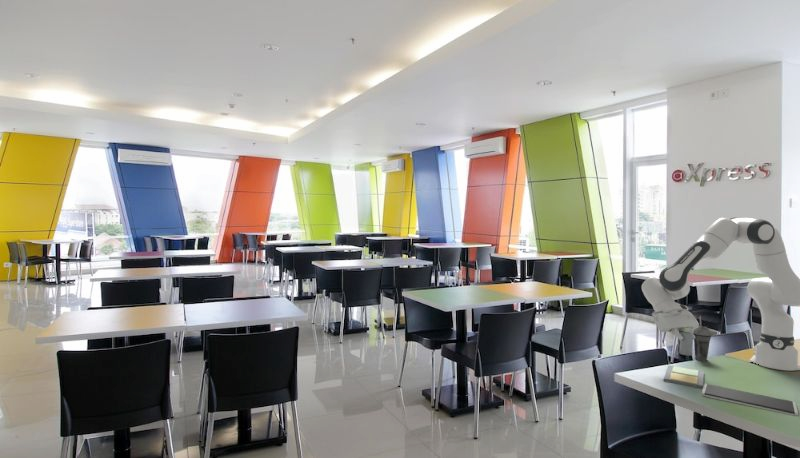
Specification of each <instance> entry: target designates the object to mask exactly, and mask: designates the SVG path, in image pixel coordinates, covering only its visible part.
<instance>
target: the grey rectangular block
mask: <svg viewBox="0 0 800 458" xmlns="http://www.w3.org/2000/svg"><path fill="white" fill-rule="evenodd" d="M690 331H691V329H690V328H683V331H679V333H680V334H681V335H682V334H683V336H684V337H685V339H684V340H679V352H678V353H679V354H680V355H684V356H689V357H690V356H693V346H694V345H693V344H694V339H693V333H692V332H690Z"/></svg>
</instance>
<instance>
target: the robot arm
mask: <svg viewBox="0 0 800 458" xmlns="http://www.w3.org/2000/svg"><path fill="white" fill-rule="evenodd" d="M733 242H737V243H741V244H752V249H753V252H754V258H755V263H756V267H757V269H758V270H759V272H761V273H762V274H764V275H765V276H766V277H755V278H752V279H751V280H749V282H748V284H747V288H746V289H747V291H746V292H747V295H749V296H750V297H751V299H753V300H754V302H755V303H756V305H757V306H758V310H759V312H760V316H761V332H760V334H759V342H757V343H756V344H755V345H754V346H753V352H754V353H753V355H752V357H750V359H749V361H750V362H749V361H748V362H749V363H751V362H753V363H752V364H755V363H756V365H758V364H759V365H758V366H760V367H764V368H769V369H773V370H779V371H791V372H792V371H800V365H799V350H798V349H796V347H795V346H794V345H795V337H794V325H795V324H794V323H795V322H794V318H793V317H792V316H791V315H789V314H788V312H786V311H785V309H784V307H783V305H784V306H789V307H800V278H799V277H798V275H797V274H796V273H795V272H794V270H793V269H792V267H791V265H790V261H789V258H788V254H787V252H786V247H785V243H784V240H783V238H782V236H781V234H780V232H779V230H778V229H777V228H776V227H774V225H773V224H772V223H771V222H770V221H768V220H765V219H762V218H759V219H757V218H754V217H753V218H752V217H730V218H728V217H720V218H718V219H717V220H714V222H712V223H711V224H710V225H709V226H708V227H707V228H706V229H705V231H704V232H702V233H701V234H700V236H699V237H698V238H697V240H695V242H694V243H693V244H692V245H690V247H689V248H688V249H687V250H686V251H685V252H684V253H683V254H682V255H681V256H680V257H679V258H678V259H677V260H676V261H675V262H673V264H671V265H669V266H667V267H665V268H663V269H662V270H661V272H660V274H659V277H657V276H650V277H647V278H646V279H645V280H644V281H643V282H642V284H641V291H642V293H643V296H644V297H645V299H646V300H647V302H648V303H649V304H651V305H652V308H653V310H654V311H652V313H651V317H652V319H653V321H654V323H655V326H656V327H657V329H658V330H659V332H661V333H668V332H669V333H672V335H674V337H675V336H676V337H677V338H678V340H679V341H680V340H684V339H685V337H684V336H683V334H682V335H681V334H680V331H683V328H690V329H691V331H690V332H692V333H693V331H694V330H695V329H696V328H698V327H699V326H700V322H698V320H697V318H696V317H695V315H693V314H692V312H691V311H689V307H688V306H687V305H684V304H681V303H678V302H676V300H680V299H683V298H685V297H687V296H688V295H689V294H690V291H691V287H690V282H689V281H688V276H689V274H690V271H692V270H693V269H694V268H695V267H696V265H698V263H699V262H701V261H702V260H703V259H707V260H716V259H717V258H719V257H720V256H721V255H723V254H724V253H725V252H726V251H727V249H728V248H729V247H730V246H731V244H732V243H733ZM694 338H695V336H694V334H693V340H694Z"/></svg>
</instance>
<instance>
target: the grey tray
mask: <svg viewBox="0 0 800 458" xmlns="http://www.w3.org/2000/svg"><path fill="white" fill-rule="evenodd" d="M700 394H701V396H703V397H705V398H711V399H715V400H719V401H725V402H729V403H732V404H734V403H735V404H738V405H743V406H749V407H754V408H758V409H761V410H762V409H763V410H766V411H772V412H777V413H781V414H786V415H791V416H795V417H799V410H798V407H797V403H796V402H795V401H792V400H788V399H783V398H776V397H773V396H768V395H763V394H759V393H754V392H750V391H749V392H748V391H744V390H739V389H734V388H728V387H724V386H720V385H715V384H710V383H703V388H702V390H701V393H700Z"/></svg>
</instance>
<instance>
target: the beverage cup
mask: <svg viewBox="0 0 800 458" xmlns="http://www.w3.org/2000/svg"><path fill="white" fill-rule="evenodd" d="M693 334H694V336H695V338H694V339H693V344H694V345H693V346H694V359H696V360H698V361H701V360H707V359H708V357H709V356H708V355H709V348H710V341H711V338H712V333H711V330H710V329H709V327H708V326H705V325H702V317H701V315H699V327H698V328H696V329H695V330H693Z"/></svg>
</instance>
